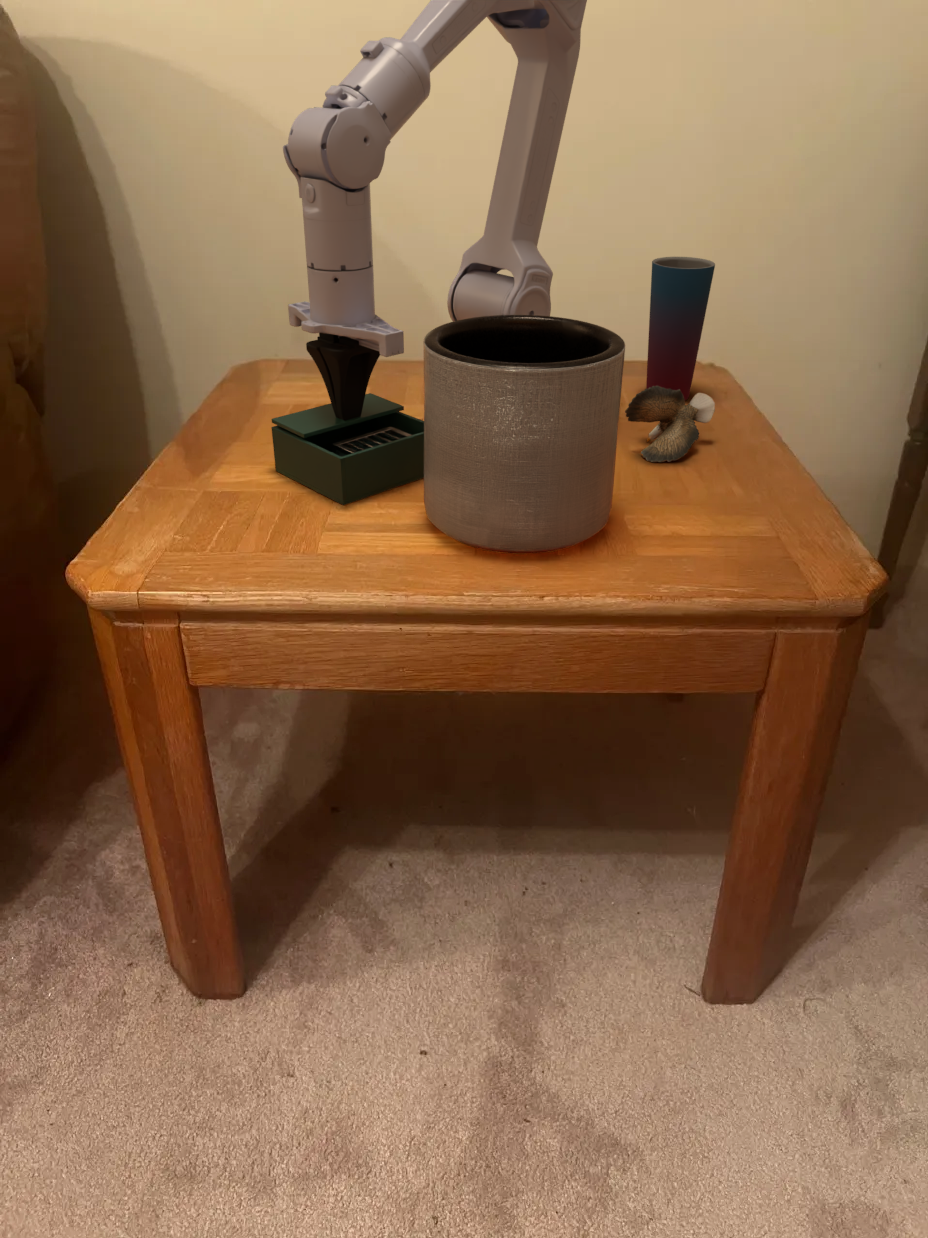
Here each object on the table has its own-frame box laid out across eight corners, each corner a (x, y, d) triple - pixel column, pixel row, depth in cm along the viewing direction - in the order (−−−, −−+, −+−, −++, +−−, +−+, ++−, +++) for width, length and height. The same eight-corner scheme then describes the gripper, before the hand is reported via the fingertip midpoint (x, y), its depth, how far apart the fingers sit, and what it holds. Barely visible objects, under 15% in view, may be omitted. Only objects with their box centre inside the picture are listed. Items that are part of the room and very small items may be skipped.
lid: (271, 422, 88) (271, 418, 88) (370, 396, 95) (370, 392, 95) (304, 438, 85) (303, 433, 85) (404, 410, 92) (403, 406, 91)
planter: (422, 483, 88) (419, 313, 80) (592, 480, 89) (606, 312, 81) (426, 563, 75) (423, 367, 66) (627, 559, 75) (648, 365, 67)
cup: (701, 405, 108) (721, 268, 101) (642, 404, 109) (657, 267, 101) (690, 387, 114) (708, 256, 107) (634, 386, 114) (647, 256, 107)
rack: (391, 457, 93) (390, 426, 91) (422, 470, 90) (422, 438, 88) (334, 475, 89) (331, 443, 87) (364, 490, 86) (362, 457, 84)
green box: (275, 470, 91) (271, 426, 88) (372, 441, 97) (370, 400, 95) (343, 505, 84) (340, 458, 82) (442, 471, 91) (442, 427, 88)
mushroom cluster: (634, 415, 102) (605, 424, 94) (679, 363, 98) (653, 369, 90) (685, 464, 101) (659, 478, 93) (732, 414, 97) (710, 424, 89)
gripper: (254, 258, 84) (269, 406, 91) (354, 284, 75) (362, 447, 82) (319, 249, 88) (329, 391, 95) (421, 273, 79) (423, 429, 86)
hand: (348, 416), depth 89 cm, fingers closed, pressing on lid
